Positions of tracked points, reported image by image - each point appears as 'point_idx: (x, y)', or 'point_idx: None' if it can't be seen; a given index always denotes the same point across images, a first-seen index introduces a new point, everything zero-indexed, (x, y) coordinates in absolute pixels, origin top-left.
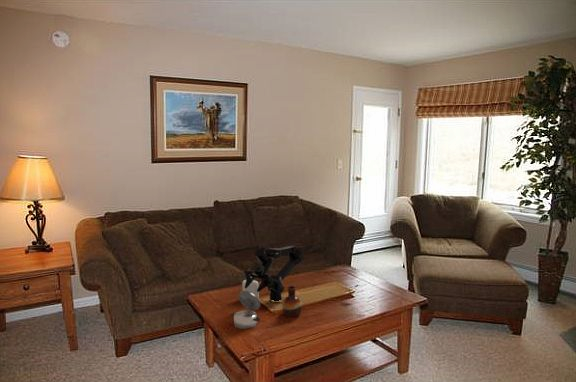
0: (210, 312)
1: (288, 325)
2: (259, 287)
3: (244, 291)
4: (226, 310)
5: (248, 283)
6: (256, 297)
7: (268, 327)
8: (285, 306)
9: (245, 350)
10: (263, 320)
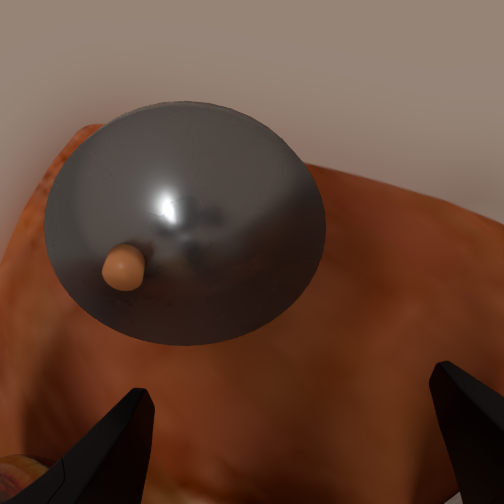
0: (472, 232)
1: (16, 376)
2: (93, 433)
3: (163, 104)
4: (449, 304)
5: (474, 455)
6: (46, 221)
7: (74, 307)
8: (21, 462)
9: (82, 140)
10: (142, 360)
